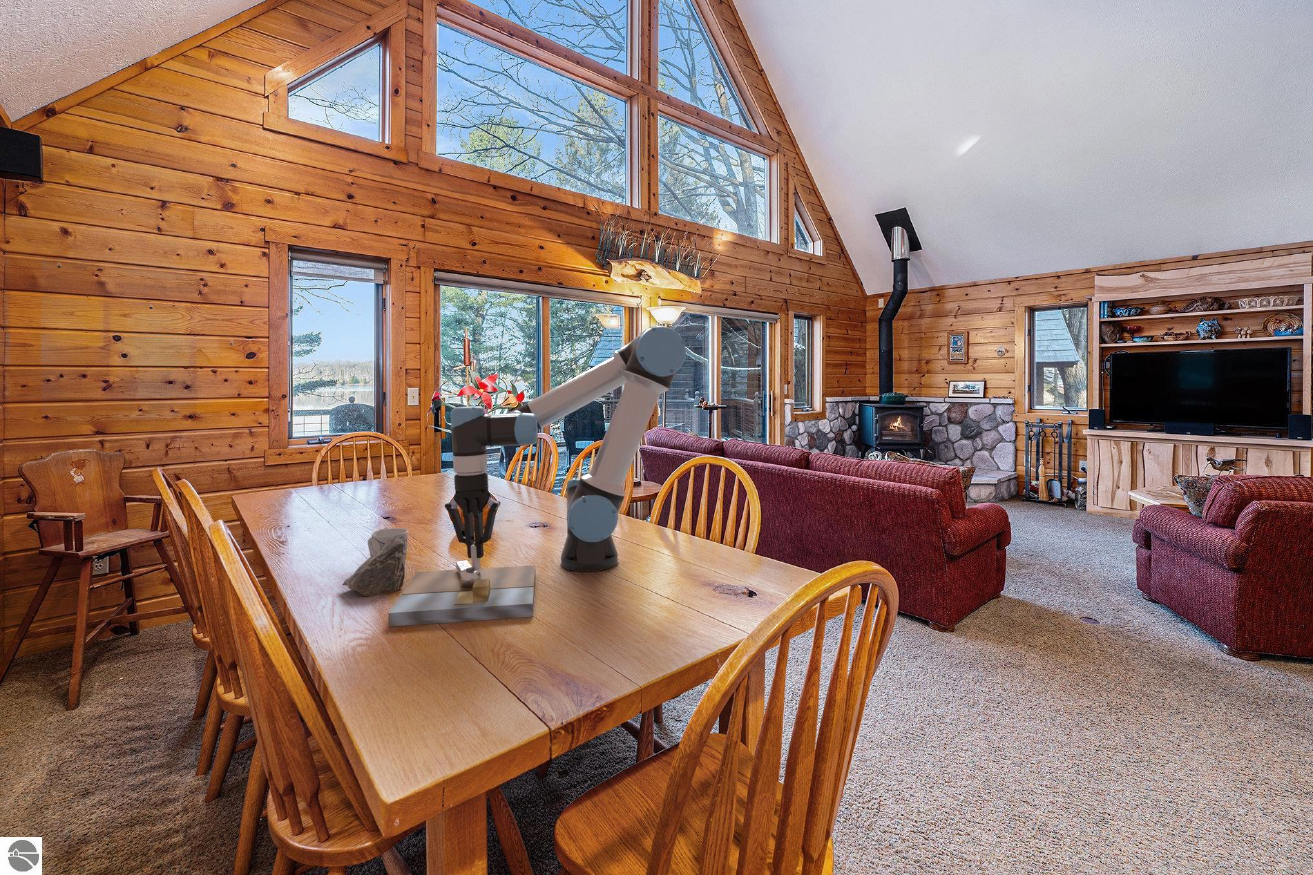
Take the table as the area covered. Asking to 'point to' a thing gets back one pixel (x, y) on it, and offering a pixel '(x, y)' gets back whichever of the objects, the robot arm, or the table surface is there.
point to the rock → (380, 571)
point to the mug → (383, 536)
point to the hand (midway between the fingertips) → (476, 571)
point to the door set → (465, 597)
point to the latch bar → (467, 573)
